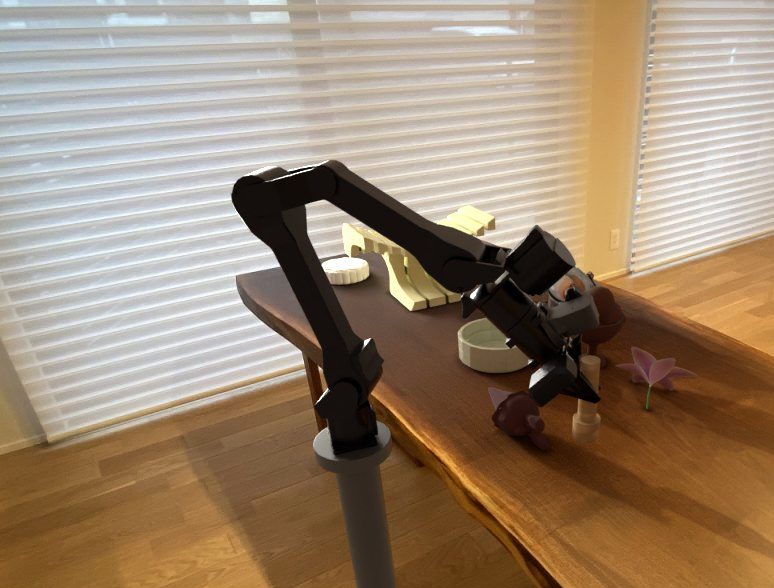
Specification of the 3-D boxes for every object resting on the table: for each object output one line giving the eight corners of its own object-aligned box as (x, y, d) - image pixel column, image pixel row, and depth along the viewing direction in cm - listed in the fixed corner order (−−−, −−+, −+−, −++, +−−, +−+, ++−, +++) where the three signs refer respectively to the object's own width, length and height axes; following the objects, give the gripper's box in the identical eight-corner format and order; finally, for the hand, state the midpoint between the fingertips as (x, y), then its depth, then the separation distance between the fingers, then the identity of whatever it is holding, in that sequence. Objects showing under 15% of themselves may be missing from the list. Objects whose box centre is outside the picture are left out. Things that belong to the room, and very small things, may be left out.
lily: (702, 412, 100) (706, 353, 100) (661, 411, 92) (666, 346, 92) (640, 407, 108) (644, 352, 108) (598, 405, 100) (602, 346, 100)
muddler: (580, 445, 84) (584, 368, 78) (567, 431, 87) (570, 356, 82) (604, 439, 86) (610, 363, 80) (591, 425, 89) (596, 351, 83)
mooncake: (310, 278, 154) (308, 264, 153) (348, 266, 163) (346, 252, 161) (341, 288, 148) (339, 274, 146) (379, 275, 156) (377, 261, 154)
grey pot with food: (622, 315, 132) (617, 270, 120) (576, 345, 130) (567, 302, 119) (580, 277, 140) (573, 232, 129) (537, 305, 138) (526, 261, 127)
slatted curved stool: (466, 273, 157) (463, 202, 148) (496, 292, 145) (495, 216, 136) (351, 295, 144) (340, 219, 135) (373, 319, 132) (363, 236, 123)
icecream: (464, 382, 94) (518, 435, 84) (504, 360, 96) (562, 409, 86) (474, 414, 98) (526, 468, 88) (512, 392, 101) (567, 442, 90)
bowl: (474, 381, 107) (473, 355, 105) (449, 348, 119) (448, 324, 117) (548, 365, 112) (549, 341, 110) (518, 335, 124) (517, 312, 121)
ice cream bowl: (630, 357, 115) (637, 280, 108) (605, 382, 107) (611, 301, 99) (579, 344, 120) (582, 270, 112) (551, 367, 112) (553, 289, 104)
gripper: (559, 304, 67) (650, 397, 72) (566, 253, 84) (641, 330, 88) (490, 364, 72) (579, 447, 76) (509, 304, 88) (583, 376, 93)
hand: (598, 395), depth 83 cm, fingers closed on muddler, 2 cm apart
